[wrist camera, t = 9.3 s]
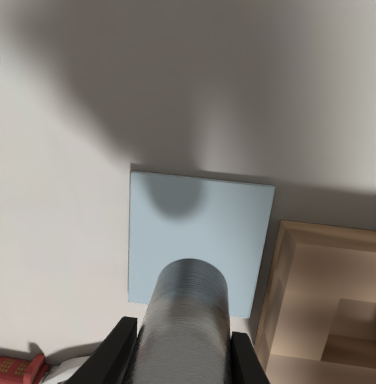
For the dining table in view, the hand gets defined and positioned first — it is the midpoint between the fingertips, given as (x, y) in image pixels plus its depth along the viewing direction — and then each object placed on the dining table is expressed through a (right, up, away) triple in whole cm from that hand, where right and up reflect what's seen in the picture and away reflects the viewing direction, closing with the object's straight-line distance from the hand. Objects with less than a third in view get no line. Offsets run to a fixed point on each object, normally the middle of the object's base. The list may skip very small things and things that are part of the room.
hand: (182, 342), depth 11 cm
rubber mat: (+1, +2, +8) cm, 9 cm away
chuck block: (+12, -2, +8) cm, 15 cm away
